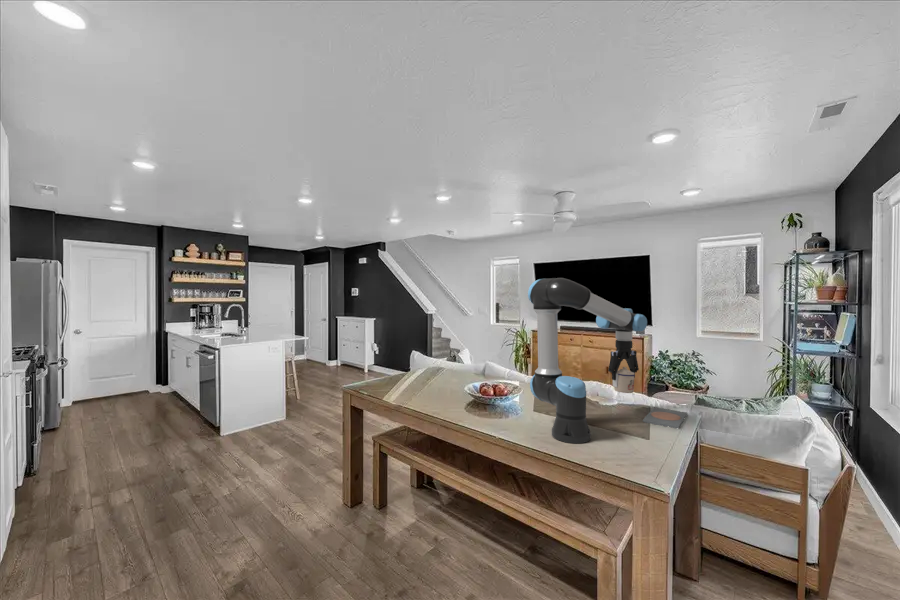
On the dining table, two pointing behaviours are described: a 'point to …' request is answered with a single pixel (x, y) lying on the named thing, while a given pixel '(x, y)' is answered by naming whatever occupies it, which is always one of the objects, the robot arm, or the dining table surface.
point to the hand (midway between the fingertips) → (623, 385)
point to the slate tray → (665, 417)
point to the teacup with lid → (625, 381)
